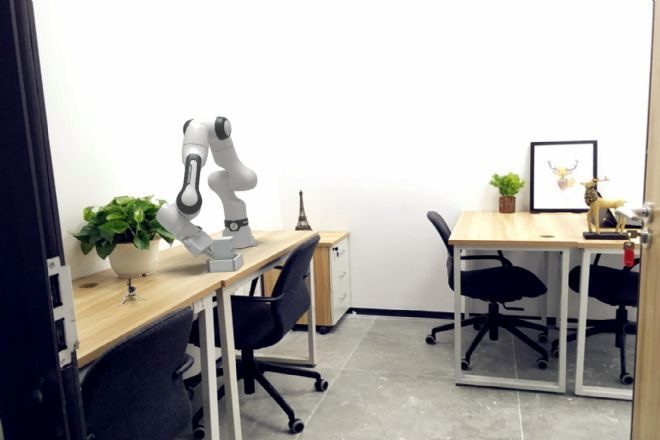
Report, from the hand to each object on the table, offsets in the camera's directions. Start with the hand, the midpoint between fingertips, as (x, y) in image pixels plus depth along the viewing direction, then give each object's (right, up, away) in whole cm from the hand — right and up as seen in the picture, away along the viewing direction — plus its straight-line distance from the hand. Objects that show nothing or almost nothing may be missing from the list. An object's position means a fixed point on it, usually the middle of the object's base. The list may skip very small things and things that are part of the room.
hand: (214, 256), depth 206 cm
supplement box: (+5, -5, +1) cm, 7 cm away
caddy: (+4, -5, +1) cm, 6 cm away
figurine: (-18, -12, -38) cm, 44 cm away
